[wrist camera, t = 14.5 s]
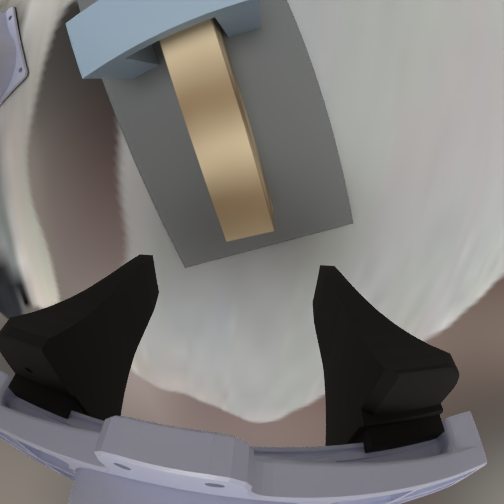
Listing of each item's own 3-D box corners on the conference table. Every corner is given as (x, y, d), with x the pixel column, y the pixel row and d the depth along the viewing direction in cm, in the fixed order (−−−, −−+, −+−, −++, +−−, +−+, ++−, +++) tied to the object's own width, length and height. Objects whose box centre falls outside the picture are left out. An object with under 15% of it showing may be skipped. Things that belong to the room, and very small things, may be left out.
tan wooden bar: (165, 3, 13) (142, -14, 10) (206, -12, 13) (192, -34, 9) (233, 215, 22) (226, 242, 18) (273, 206, 21) (274, 231, 17)
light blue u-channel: (117, 35, 15) (65, 23, 9) (241, -18, 13) (230, -59, 7) (132, 79, 16) (82, 78, 11) (261, 27, 15) (257, -3, 9)
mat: (62, -81, 6) (60, -82, 5) (196, -144, 3) (195, -145, 3) (186, 265, 24) (185, 267, 24) (351, 221, 22) (353, 223, 21)
